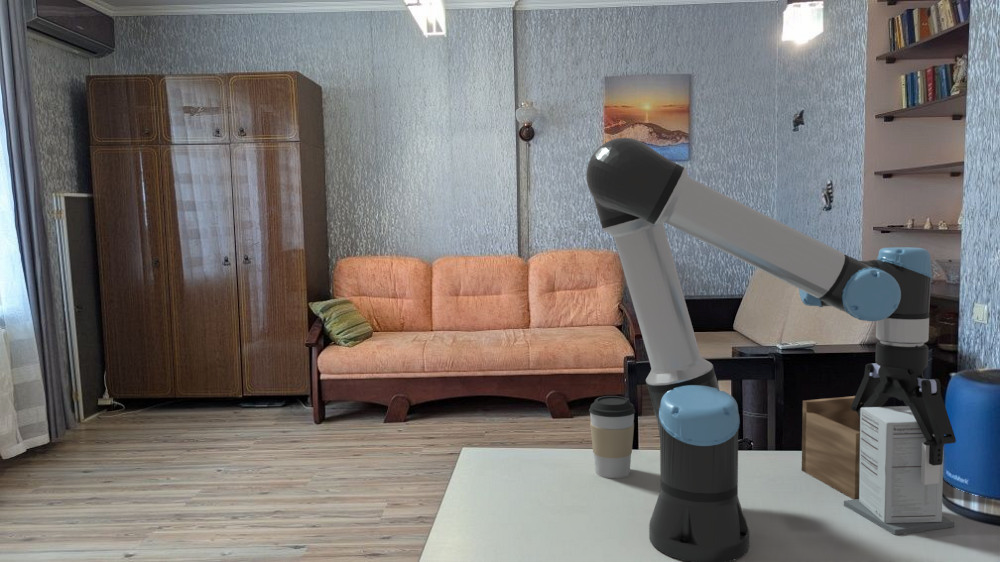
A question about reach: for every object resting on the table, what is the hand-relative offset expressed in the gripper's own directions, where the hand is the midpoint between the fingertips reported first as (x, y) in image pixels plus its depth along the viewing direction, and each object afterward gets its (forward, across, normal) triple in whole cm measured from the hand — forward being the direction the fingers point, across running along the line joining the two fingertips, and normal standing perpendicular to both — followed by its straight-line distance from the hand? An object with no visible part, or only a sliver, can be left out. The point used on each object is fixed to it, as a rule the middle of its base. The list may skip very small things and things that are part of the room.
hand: (897, 468), depth 121 cm
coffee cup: (+8, +32, +38) cm, 50 cm away
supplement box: (+8, 0, 0) cm, 8 cm away
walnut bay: (+8, +15, -5) cm, 17 cm away
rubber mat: (+8, 0, 0) cm, 8 cm away
